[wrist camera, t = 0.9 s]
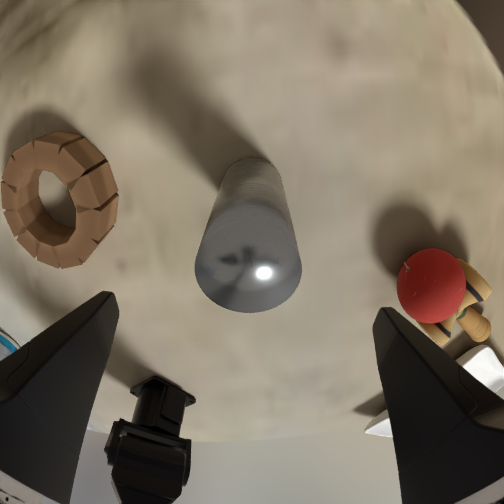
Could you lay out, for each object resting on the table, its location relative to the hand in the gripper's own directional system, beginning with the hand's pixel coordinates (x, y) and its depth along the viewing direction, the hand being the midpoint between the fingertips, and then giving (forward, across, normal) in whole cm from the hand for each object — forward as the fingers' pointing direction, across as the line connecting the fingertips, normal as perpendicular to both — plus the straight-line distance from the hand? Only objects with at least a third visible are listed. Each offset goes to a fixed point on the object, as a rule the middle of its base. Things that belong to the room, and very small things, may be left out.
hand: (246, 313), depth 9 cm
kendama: (+12, -20, +8) cm, 25 cm away
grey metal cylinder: (+12, 0, 0) cm, 12 cm away
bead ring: (+12, +15, +1) cm, 19 cm away
